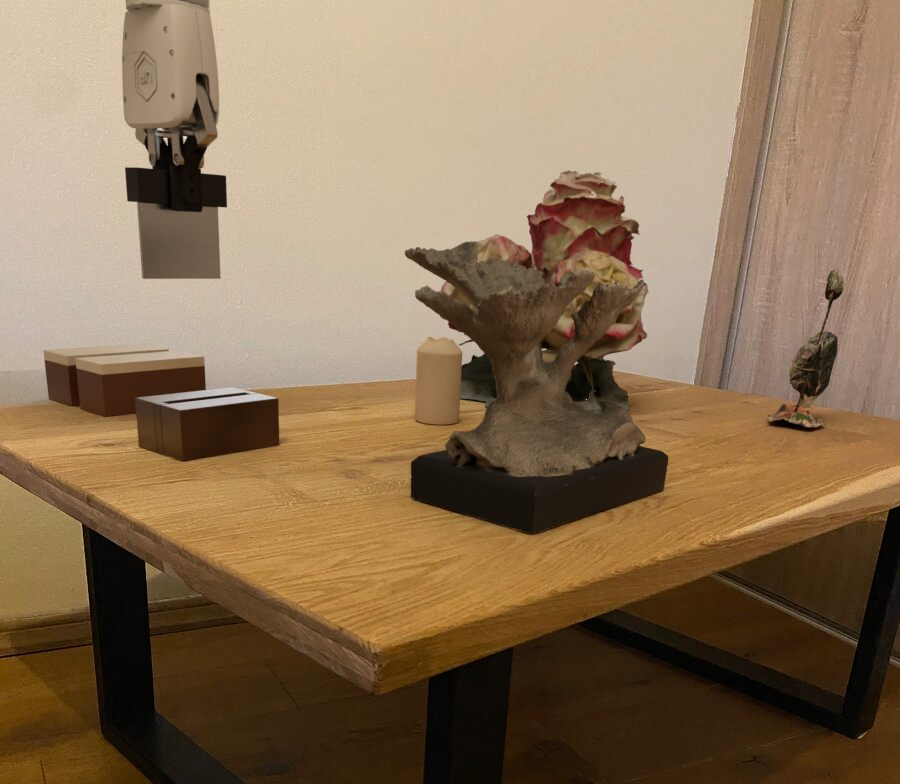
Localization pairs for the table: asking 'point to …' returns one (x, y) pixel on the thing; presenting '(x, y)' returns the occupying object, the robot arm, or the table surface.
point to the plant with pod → (813, 366)
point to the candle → (438, 382)
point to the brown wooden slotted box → (207, 422)
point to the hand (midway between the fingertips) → (178, 209)
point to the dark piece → (176, 226)
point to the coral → (531, 401)
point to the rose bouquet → (555, 251)
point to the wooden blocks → (119, 376)
